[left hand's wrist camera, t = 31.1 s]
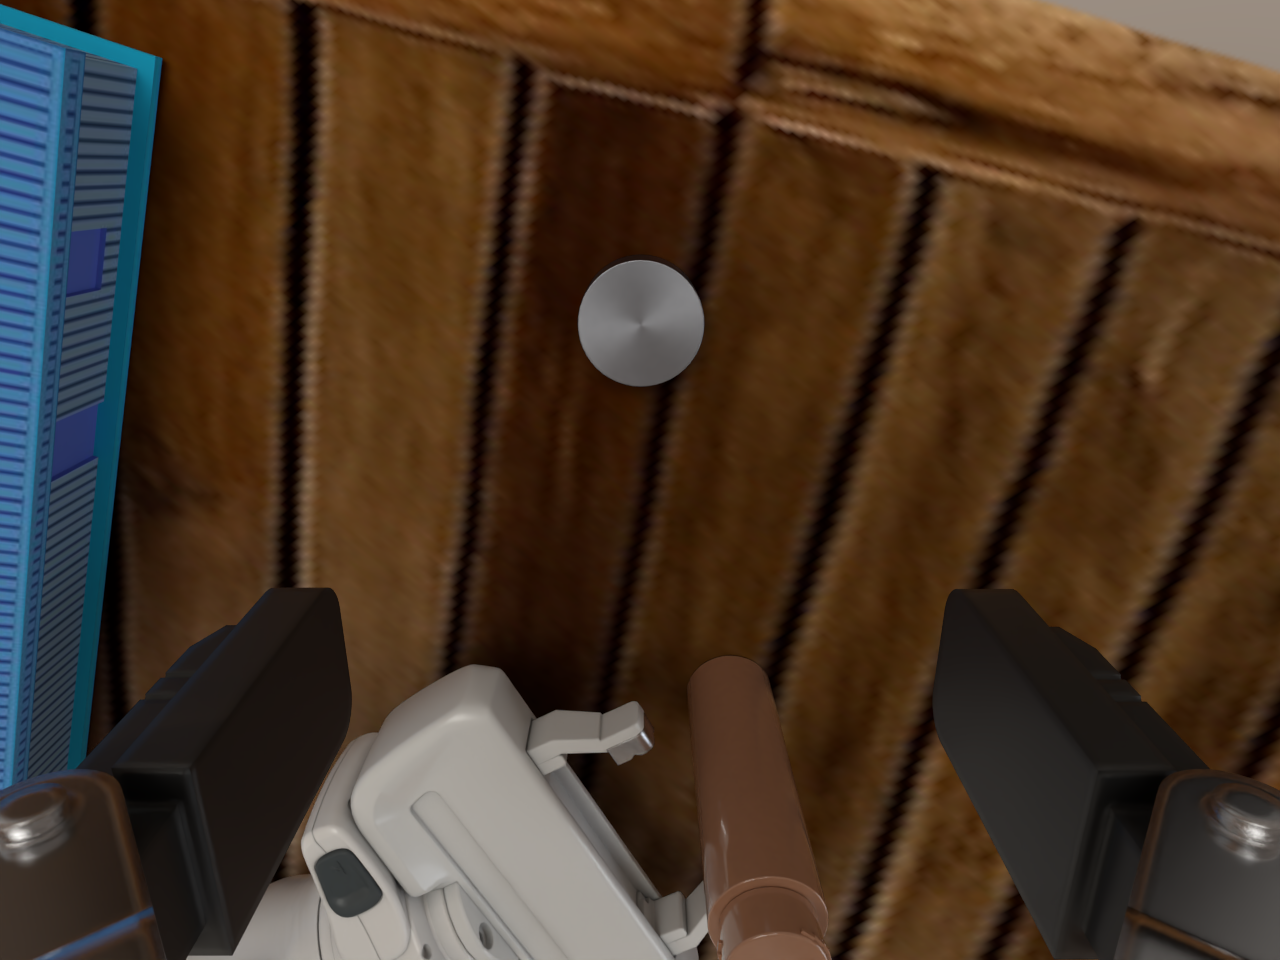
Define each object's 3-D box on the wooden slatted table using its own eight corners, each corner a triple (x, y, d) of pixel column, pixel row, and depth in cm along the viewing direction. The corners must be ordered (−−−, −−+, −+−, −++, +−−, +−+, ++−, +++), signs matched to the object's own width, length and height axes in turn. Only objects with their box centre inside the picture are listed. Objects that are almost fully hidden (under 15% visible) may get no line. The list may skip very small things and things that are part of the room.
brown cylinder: (739, 739, 44) (791, 1036, 29) (670, 702, 43) (686, 988, 28) (787, 680, 43) (867, 958, 28) (717, 640, 42) (760, 905, 27)
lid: (588, 246, 35) (585, 251, 33) (709, 263, 36) (714, 269, 33) (574, 366, 37) (570, 377, 35) (690, 382, 37) (693, 394, 35)
